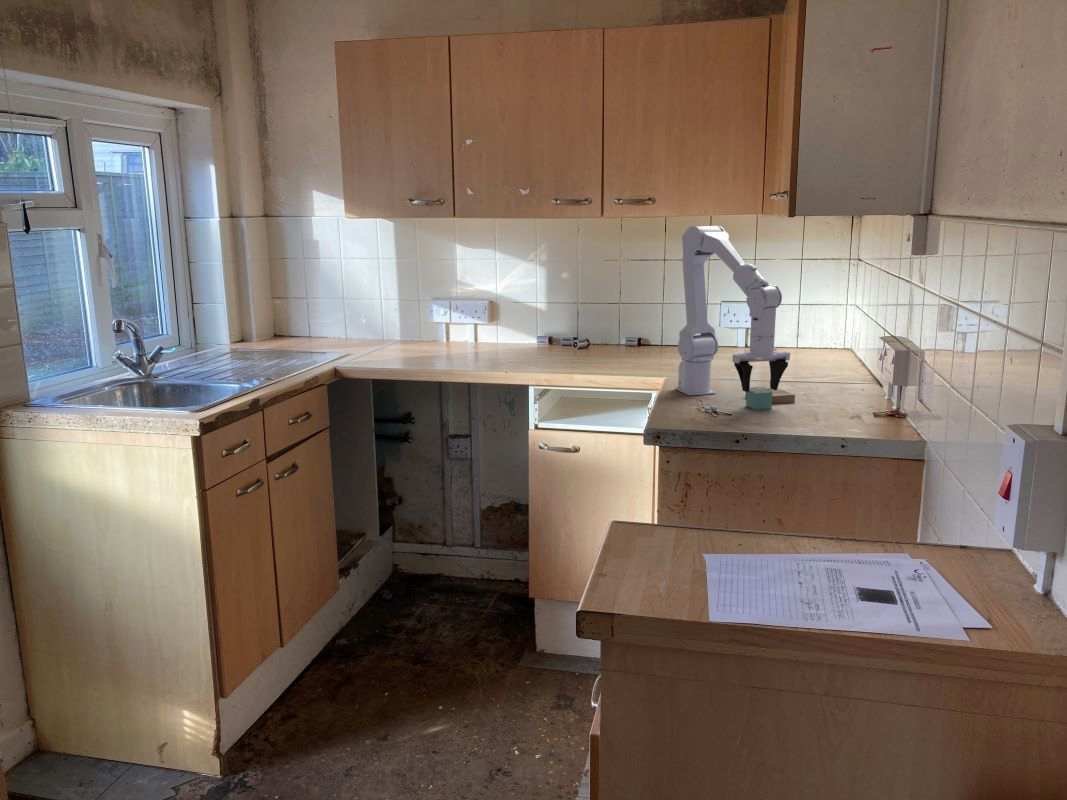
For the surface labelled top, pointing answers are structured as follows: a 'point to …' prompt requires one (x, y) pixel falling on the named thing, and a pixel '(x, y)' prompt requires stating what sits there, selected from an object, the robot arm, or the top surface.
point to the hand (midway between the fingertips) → (759, 390)
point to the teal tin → (759, 398)
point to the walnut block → (781, 396)
